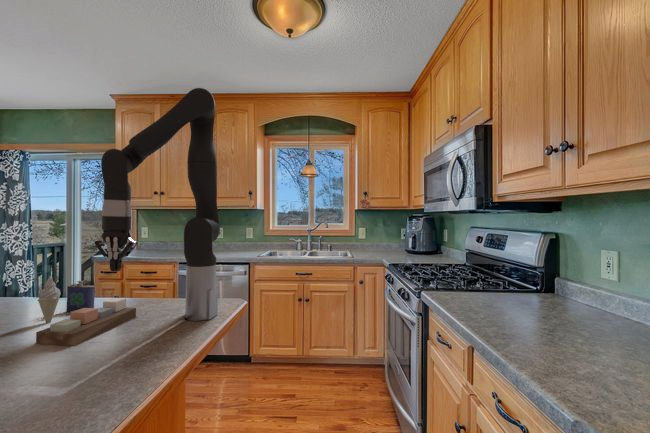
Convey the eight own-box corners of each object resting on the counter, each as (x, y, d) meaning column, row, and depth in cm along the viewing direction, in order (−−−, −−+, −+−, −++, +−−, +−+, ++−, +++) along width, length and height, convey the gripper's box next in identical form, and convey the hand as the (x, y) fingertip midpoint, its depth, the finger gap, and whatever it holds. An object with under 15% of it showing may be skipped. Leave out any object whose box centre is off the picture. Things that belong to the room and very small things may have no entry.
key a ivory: (125, 308, 97) (126, 298, 97) (115, 311, 93) (116, 302, 93) (113, 307, 98) (113, 298, 98) (102, 311, 93) (103, 301, 94)
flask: (96, 311, 107) (96, 280, 107) (89, 313, 104) (89, 281, 105) (70, 310, 108) (71, 279, 108) (63, 312, 105) (63, 281, 105)
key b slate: (112, 318, 92) (112, 308, 92) (101, 322, 88) (101, 312, 88) (99, 317, 92) (99, 307, 92) (87, 322, 88) (87, 311, 88)
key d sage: (80, 331, 81) (80, 319, 81) (65, 337, 77) (65, 325, 77) (65, 330, 81) (65, 319, 81) (50, 336, 77) (50, 324, 77)
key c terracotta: (97, 319, 86) (97, 308, 86) (84, 324, 82) (85, 312, 82) (83, 318, 87) (83, 307, 87) (70, 323, 82) (70, 312, 83)
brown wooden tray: (137, 320, 98) (138, 307, 98) (74, 350, 75) (75, 334, 75) (105, 319, 99) (105, 306, 99) (33, 348, 76) (33, 332, 76)
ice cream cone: (63, 324, 94) (64, 274, 94) (43, 329, 89) (45, 277, 89) (52, 322, 95) (54, 273, 95) (32, 327, 90) (34, 276, 91)
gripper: (145, 215, 99) (143, 269, 99) (106, 215, 100) (105, 268, 100) (128, 215, 91) (127, 273, 91) (86, 214, 93) (85, 272, 92)
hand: (115, 271), depth 96 cm, fingers closed
